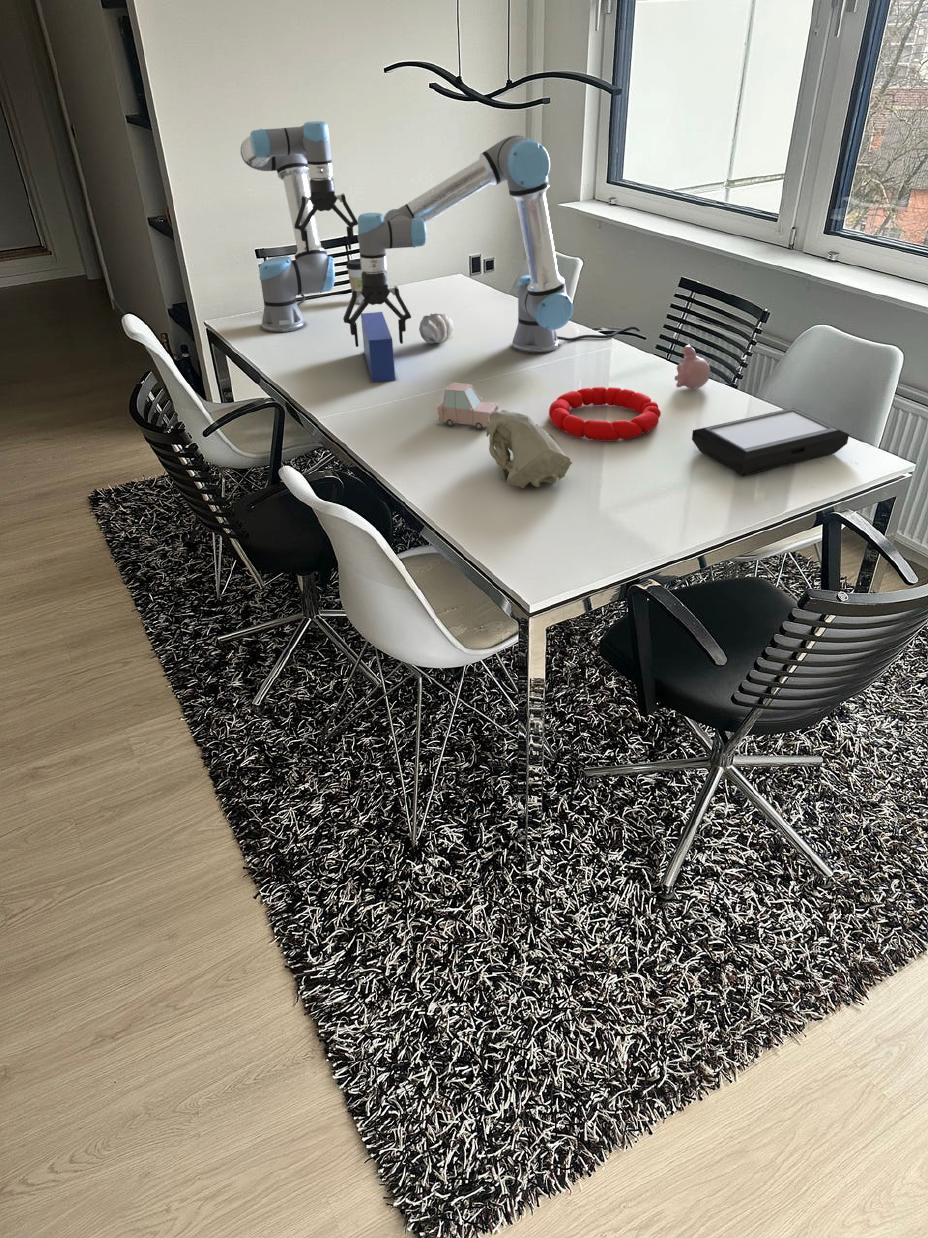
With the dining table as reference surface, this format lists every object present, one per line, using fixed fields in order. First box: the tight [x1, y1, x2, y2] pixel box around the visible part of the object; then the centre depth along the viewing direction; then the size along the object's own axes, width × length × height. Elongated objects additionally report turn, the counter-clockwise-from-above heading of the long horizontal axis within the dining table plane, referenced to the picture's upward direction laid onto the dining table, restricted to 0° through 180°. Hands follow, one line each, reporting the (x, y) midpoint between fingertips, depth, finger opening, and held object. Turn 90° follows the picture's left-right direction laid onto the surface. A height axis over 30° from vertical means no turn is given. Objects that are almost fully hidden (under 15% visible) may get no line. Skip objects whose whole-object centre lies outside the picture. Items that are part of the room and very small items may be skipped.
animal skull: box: [485, 409, 573, 489], centre depth 216 cm, size 17×25×20 cm
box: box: [360, 311, 396, 383], centre depth 284 cm, size 30×7×13 cm, turn 10°
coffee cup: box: [346, 258, 364, 305], centre depth 347 cm, size 10×10×15 cm
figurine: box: [674, 344, 711, 390], centre depth 259 cm, size 9×11×12 cm
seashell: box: [418, 312, 454, 344], centre depth 302 cm, size 10×15×10 cm
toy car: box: [437, 382, 499, 431], centre depth 243 cm, size 9×15×10 cm, turn 70°
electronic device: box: [691, 407, 850, 477], centre depth 222 cm, size 32×6×20 cm
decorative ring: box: [548, 386, 661, 442], centre depth 242 cm, size 7×30×30 cm
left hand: (329, 250), depth 290 cm, fingers open, 13 cm apart
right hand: (379, 343), depth 272 cm, fingers open, 13 cm apart
